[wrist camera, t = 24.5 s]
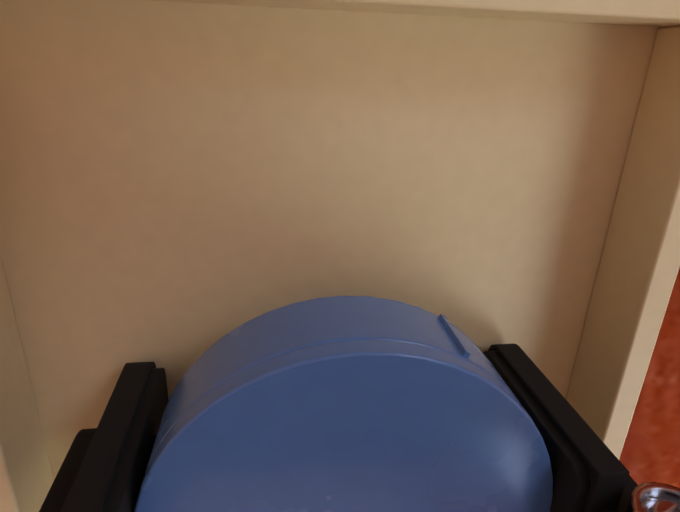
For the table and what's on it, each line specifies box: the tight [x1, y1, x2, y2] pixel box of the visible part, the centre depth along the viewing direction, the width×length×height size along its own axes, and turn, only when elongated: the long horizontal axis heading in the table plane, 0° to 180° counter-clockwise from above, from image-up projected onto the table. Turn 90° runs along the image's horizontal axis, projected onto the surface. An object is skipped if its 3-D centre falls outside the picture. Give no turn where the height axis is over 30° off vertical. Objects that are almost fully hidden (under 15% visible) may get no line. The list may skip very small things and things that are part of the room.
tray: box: [0, 0, 680, 512], centre depth 11 cm, size 17×13×2 cm
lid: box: [134, 296, 553, 512], centre depth 9 cm, size 7×7×2 cm
